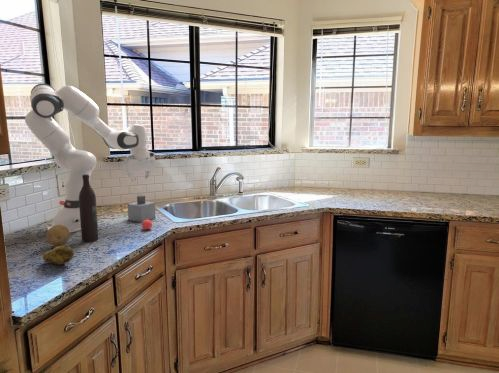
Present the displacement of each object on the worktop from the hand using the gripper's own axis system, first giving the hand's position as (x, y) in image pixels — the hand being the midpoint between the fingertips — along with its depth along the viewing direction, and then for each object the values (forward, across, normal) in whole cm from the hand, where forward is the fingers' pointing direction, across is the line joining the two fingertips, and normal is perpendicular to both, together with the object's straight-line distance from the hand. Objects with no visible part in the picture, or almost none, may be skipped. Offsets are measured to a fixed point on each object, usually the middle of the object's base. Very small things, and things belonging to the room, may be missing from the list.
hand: (140, 179), depth 203 cm
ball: (+19, -13, -17) cm, 29 cm away
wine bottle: (+22, -38, -7) cm, 45 cm away
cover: (+22, 0, 0) cm, 22 cm away
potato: (+21, -64, -23) cm, 71 cm away
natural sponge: (+22, -52, -5) cm, 57 cm away
